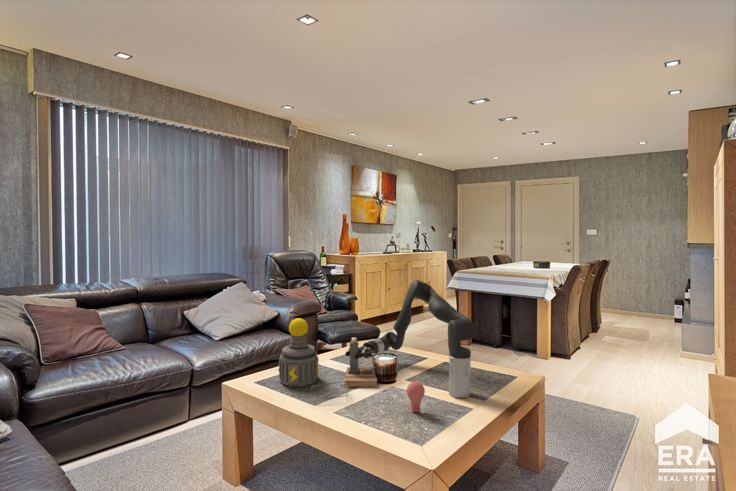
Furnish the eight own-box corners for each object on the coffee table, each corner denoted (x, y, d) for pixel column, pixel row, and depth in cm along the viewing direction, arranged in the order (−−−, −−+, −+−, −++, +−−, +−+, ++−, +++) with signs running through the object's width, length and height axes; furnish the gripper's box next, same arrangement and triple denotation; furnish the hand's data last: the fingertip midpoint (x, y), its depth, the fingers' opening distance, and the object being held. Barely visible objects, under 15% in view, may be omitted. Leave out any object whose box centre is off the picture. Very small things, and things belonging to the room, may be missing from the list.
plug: (358, 374, 207) (358, 339, 206) (349, 373, 207) (349, 339, 206) (358, 371, 211) (358, 336, 210) (350, 371, 211) (350, 336, 210)
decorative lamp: (322, 373, 215) (321, 314, 213) (313, 388, 196) (313, 323, 194) (285, 372, 217) (284, 313, 215) (273, 386, 198) (272, 322, 196)
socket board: (376, 387, 198) (376, 379, 197) (344, 386, 198) (344, 379, 198) (376, 373, 215) (376, 366, 215) (347, 373, 216) (347, 366, 216)
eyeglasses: (350, 402, 182) (350, 390, 182) (314, 405, 178) (314, 394, 178) (343, 388, 197) (343, 377, 197) (311, 391, 194) (311, 380, 194)
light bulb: (412, 406, 177) (413, 377, 177) (427, 411, 173) (428, 381, 172) (403, 412, 172) (403, 382, 171) (418, 417, 167) (418, 386, 167)
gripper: (362, 337, 223) (340, 345, 211) (384, 343, 214) (361, 350, 201) (363, 352, 224) (340, 360, 211) (384, 357, 214) (361, 366, 202)
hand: (350, 355), depth 206 cm, fingers closed on plug, 5 cm apart
